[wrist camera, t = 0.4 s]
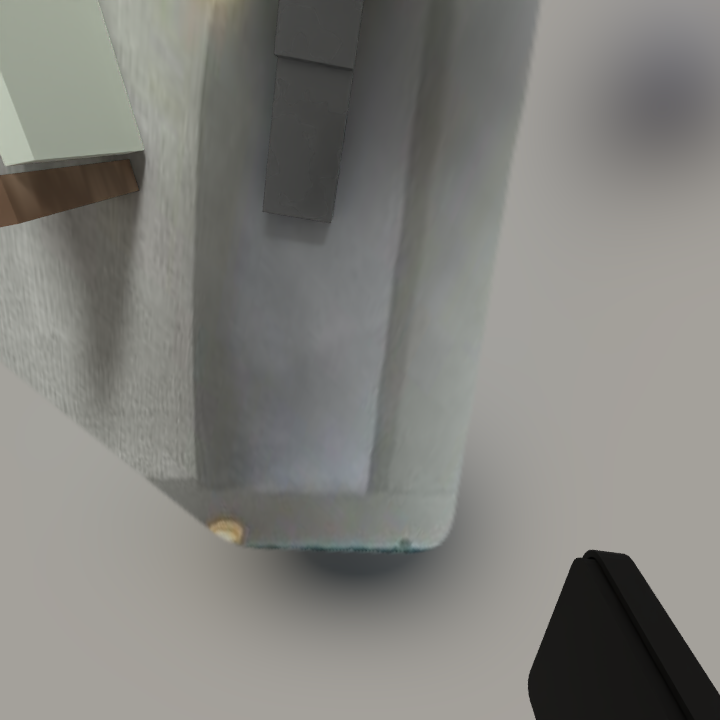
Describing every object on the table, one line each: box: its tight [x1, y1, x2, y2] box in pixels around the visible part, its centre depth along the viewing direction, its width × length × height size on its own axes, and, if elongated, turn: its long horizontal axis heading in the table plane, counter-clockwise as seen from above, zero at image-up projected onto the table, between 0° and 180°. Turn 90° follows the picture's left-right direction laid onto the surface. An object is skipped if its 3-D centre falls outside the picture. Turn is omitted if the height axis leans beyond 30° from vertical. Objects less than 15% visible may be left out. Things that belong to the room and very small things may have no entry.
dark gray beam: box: [263, 0, 364, 223], centre depth 29 cm, size 16×4×5 cm, turn 170°
